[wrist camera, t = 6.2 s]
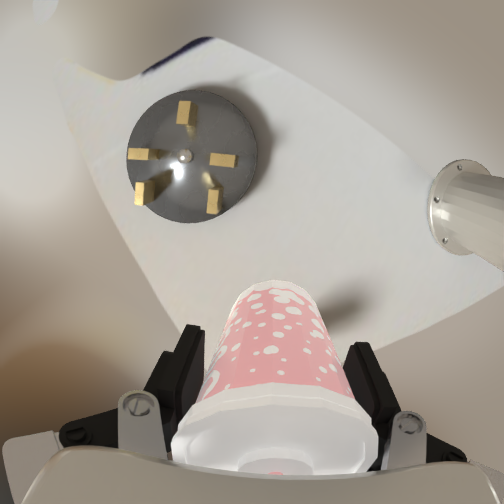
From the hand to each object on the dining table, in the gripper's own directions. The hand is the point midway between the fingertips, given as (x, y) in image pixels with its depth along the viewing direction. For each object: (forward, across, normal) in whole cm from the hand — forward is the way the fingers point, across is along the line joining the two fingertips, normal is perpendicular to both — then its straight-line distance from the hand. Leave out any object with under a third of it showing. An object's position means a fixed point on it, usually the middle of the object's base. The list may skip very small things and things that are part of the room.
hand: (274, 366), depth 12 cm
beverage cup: (+4, 0, 0) cm, 4 cm away
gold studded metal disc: (+24, +10, -8) cm, 27 cm away
